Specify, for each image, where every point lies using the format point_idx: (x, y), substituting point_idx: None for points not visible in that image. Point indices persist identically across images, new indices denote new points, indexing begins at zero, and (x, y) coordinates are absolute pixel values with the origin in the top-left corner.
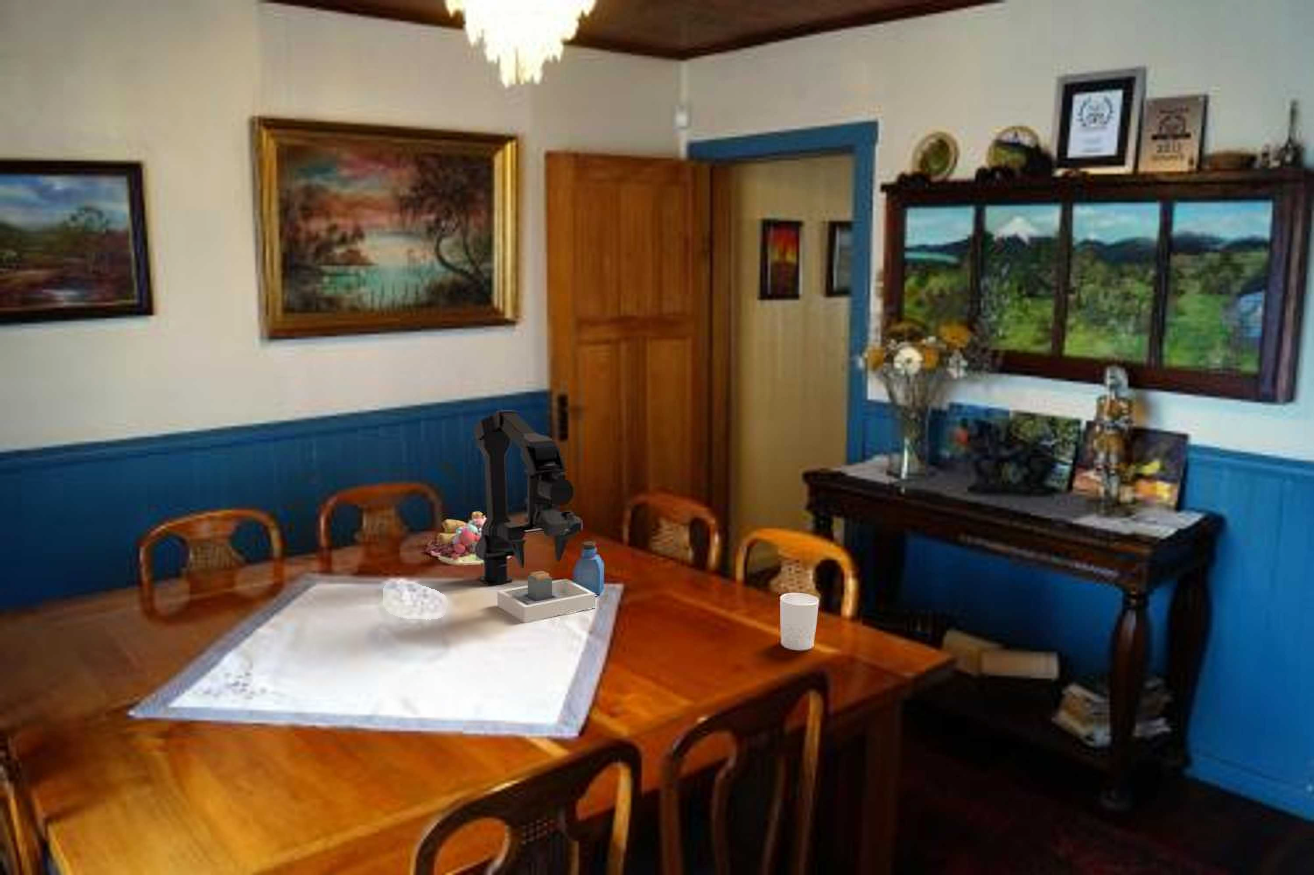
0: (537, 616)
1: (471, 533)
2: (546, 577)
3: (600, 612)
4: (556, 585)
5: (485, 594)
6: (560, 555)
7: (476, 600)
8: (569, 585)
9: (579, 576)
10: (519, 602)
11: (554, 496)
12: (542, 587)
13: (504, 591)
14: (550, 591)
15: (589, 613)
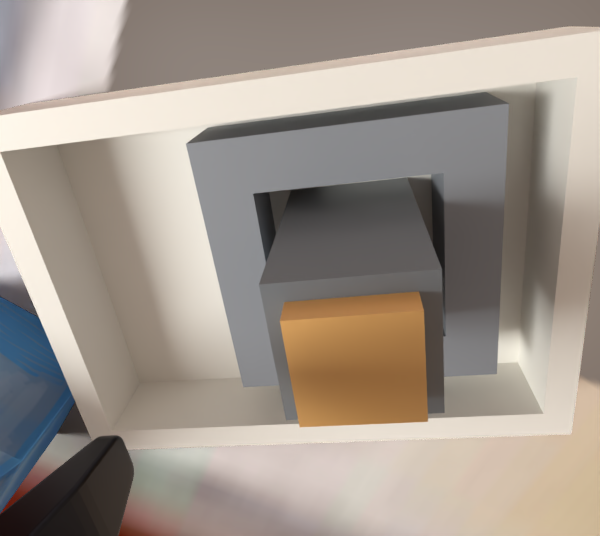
0: (466, 42)
1: None
2: (312, 303)
3: (4, 14)
4: (173, 413)
5: (496, 514)
6: (58, 488)
7: (581, 471)
8: (102, 377)
9: (10, 410)
10: (586, 169)
11: None
12: (365, 242)
13: (535, 413)
14: (290, 231)
15: (80, 26)
